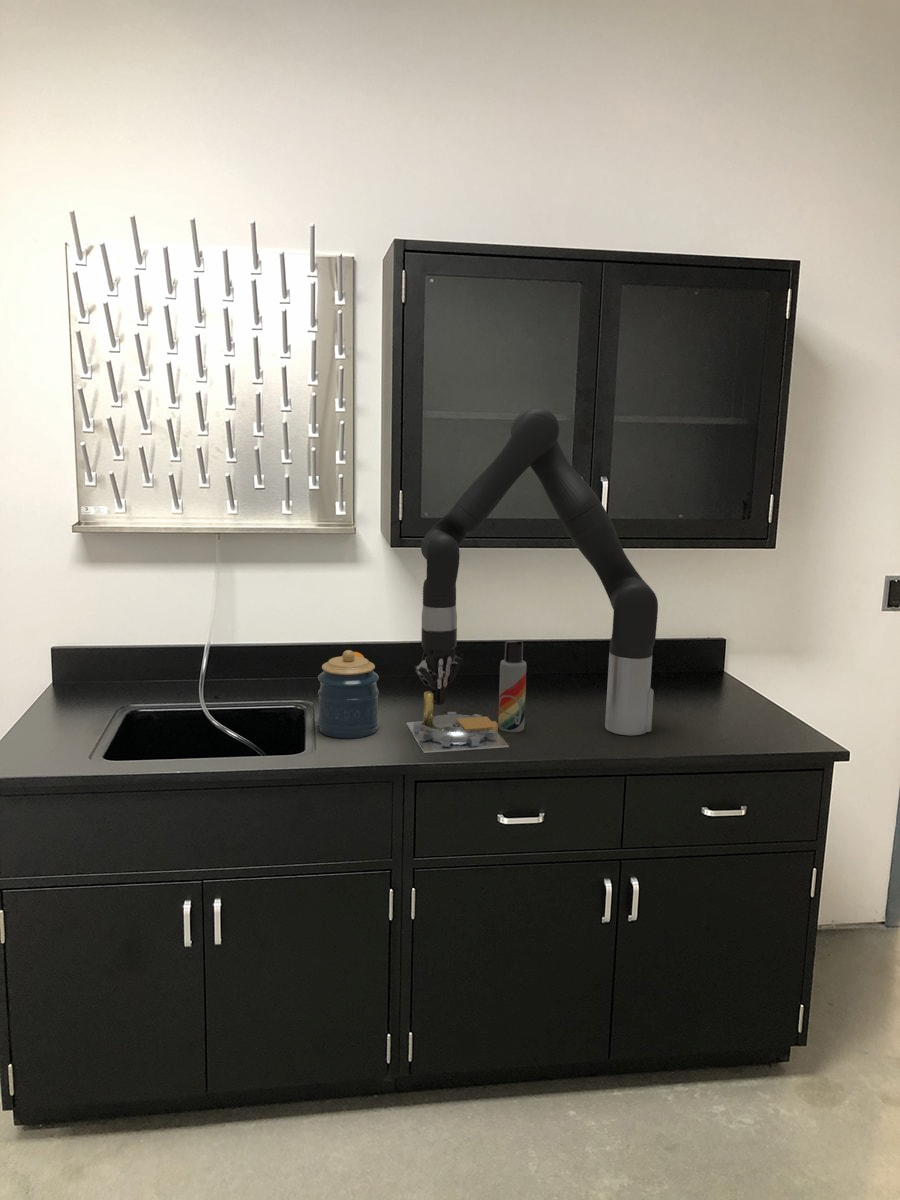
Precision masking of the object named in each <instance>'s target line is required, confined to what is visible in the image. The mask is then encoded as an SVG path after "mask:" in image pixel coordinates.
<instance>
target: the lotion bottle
mask: <svg viewBox="0 0 900 1200" xmlns="http://www.w3.org/2000/svg"><path fill="white" fill-rule="evenodd" d="M523 653H524V642H523V641H522V639H514V640H508V641H507V640H506V641H505V642H504V659H501V660H500V664H499V687H498V688H499V692H498V693H499V694H498V696H499V697H498V721H497V723H498V730H500V731H502V732H506V733H520V732H522V731H523V730H524V729H525V718H526V717H525V716H526V715H525V714H526V693H527V692H526V691H527V688H526V687H527V662H526V661H525V660H523V659H524V658H523V657H524V656H523V655H524V654H523Z"/></svg>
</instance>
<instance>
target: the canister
mask: <svg viewBox="0 0 900 1200" xmlns="http://www.w3.org/2000/svg"><path fill="white" fill-rule="evenodd" d="M353 652H354V651H353V650H351V649H347V650H345V651H343V652H342V655H341V656H335V657H332V658H330V659H328V661H327V662H324V663H323V664H322V666H321V669H322V670H323V671H322V672H321V673H320V674H318V676H317V679H318V681H319V683H320V686H319V689H318V691H317V695H318V718H317V720H318V722H317V724H318V727H319V731H320V733H322V734H323V735H325V736H329V737H330V738H331V737H332V738H337V739H355V738H356V739H357V738H363V737H367V736H370V735H372V734H375V732H376V731H377V730H378V725H379V715H378V714H379V712H378V711H379V701H378V700H379V694H380V691H379V689H378V686H377V682H378V681H379V679H380V677H379V675H378V673H376V672H375V671H374V670H375V668H376V666H375V663H373V662H371V661H369V659H367V658H365V657H364V658H363V657H358V656H355V655H354V653H353Z"/></svg>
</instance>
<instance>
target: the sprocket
mask: <svg viewBox="0 0 900 1200" xmlns="http://www.w3.org/2000/svg"><path fill="white" fill-rule="evenodd" d="M433 694H434V693H433V692H432V691H424V693H423V715H422V716H423V720H422V721H423V722H422V723H421V721H413V722H414V725H413V732H418V739H420V740H422V741H427V740H432V741H435V742H439V743H441V746H446V747H450V746H451V744H469V745H470V746H479V745H480V742H481V741H484V740H486V739H490V740H495V739H496V738H497V732H498V731H499V727H498V721H495V720H491V719H490V718H489V717H488V716H483V715H482V714H477V713H474V714H472V715H469V714H459V713H458V714H457V712H456V711H447V714H440V715H434V703H433Z"/></svg>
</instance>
